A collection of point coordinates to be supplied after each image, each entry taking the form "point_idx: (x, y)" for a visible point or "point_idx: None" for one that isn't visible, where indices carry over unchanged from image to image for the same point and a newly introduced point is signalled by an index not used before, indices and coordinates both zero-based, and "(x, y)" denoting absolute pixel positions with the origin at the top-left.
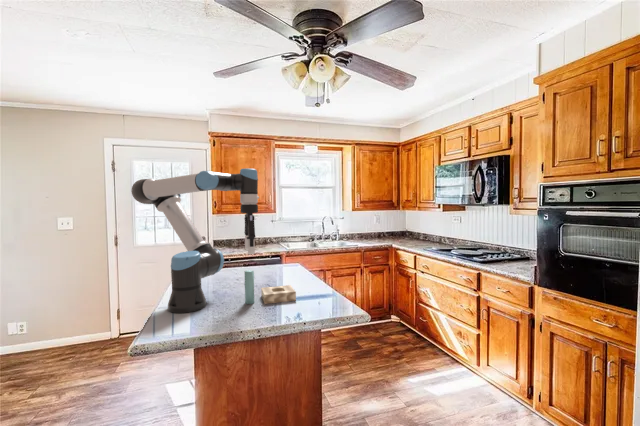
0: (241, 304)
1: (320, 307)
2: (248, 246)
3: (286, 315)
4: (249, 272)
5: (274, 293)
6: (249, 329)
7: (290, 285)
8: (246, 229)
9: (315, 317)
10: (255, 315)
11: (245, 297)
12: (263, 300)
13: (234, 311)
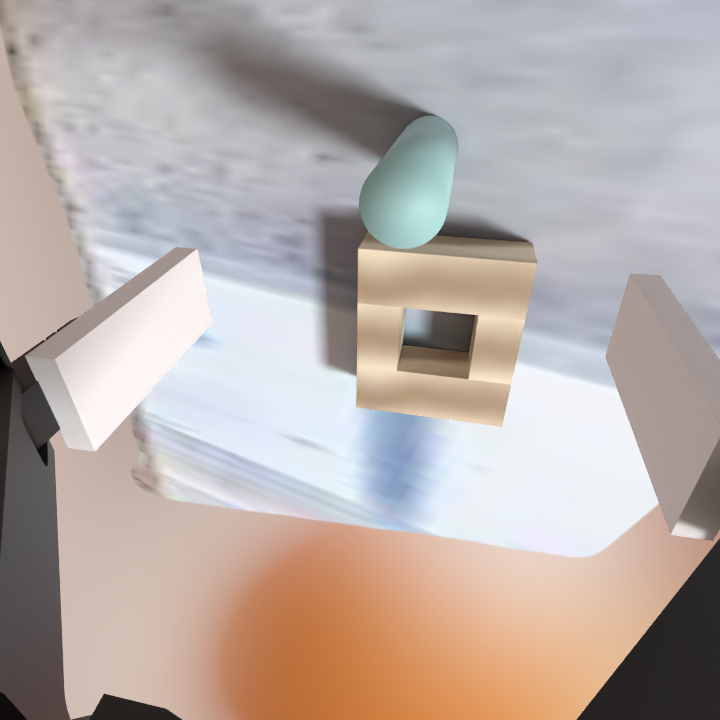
0: (422, 86)
1: (251, 426)
2: (111, 297)
3: None
4: (360, 202)
5: (364, 307)
6: (33, 94)
7: (494, 424)
8: (670, 601)
9: None
10: (205, 150)
11: (416, 123)
12: None
13: (297, 25)
